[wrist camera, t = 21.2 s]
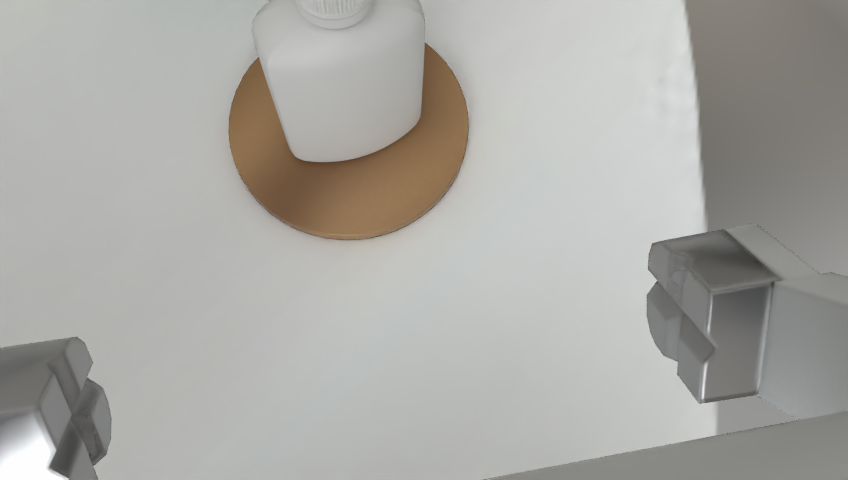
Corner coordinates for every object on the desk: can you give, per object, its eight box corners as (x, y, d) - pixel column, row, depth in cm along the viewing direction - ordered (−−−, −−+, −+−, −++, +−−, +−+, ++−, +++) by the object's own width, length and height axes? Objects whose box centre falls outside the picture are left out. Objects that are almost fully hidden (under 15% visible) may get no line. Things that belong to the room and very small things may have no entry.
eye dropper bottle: (296, 66, 32) (238, -164, 20) (426, 86, 32) (442, -132, 20) (274, 159, 30) (198, -30, 19) (409, 181, 30) (416, 4, 19)
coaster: (188, 181, 31) (183, 176, 30) (297, -7, 33) (296, -15, 33) (409, 278, 30) (409, 275, 29) (502, 77, 33) (504, 70, 32)
